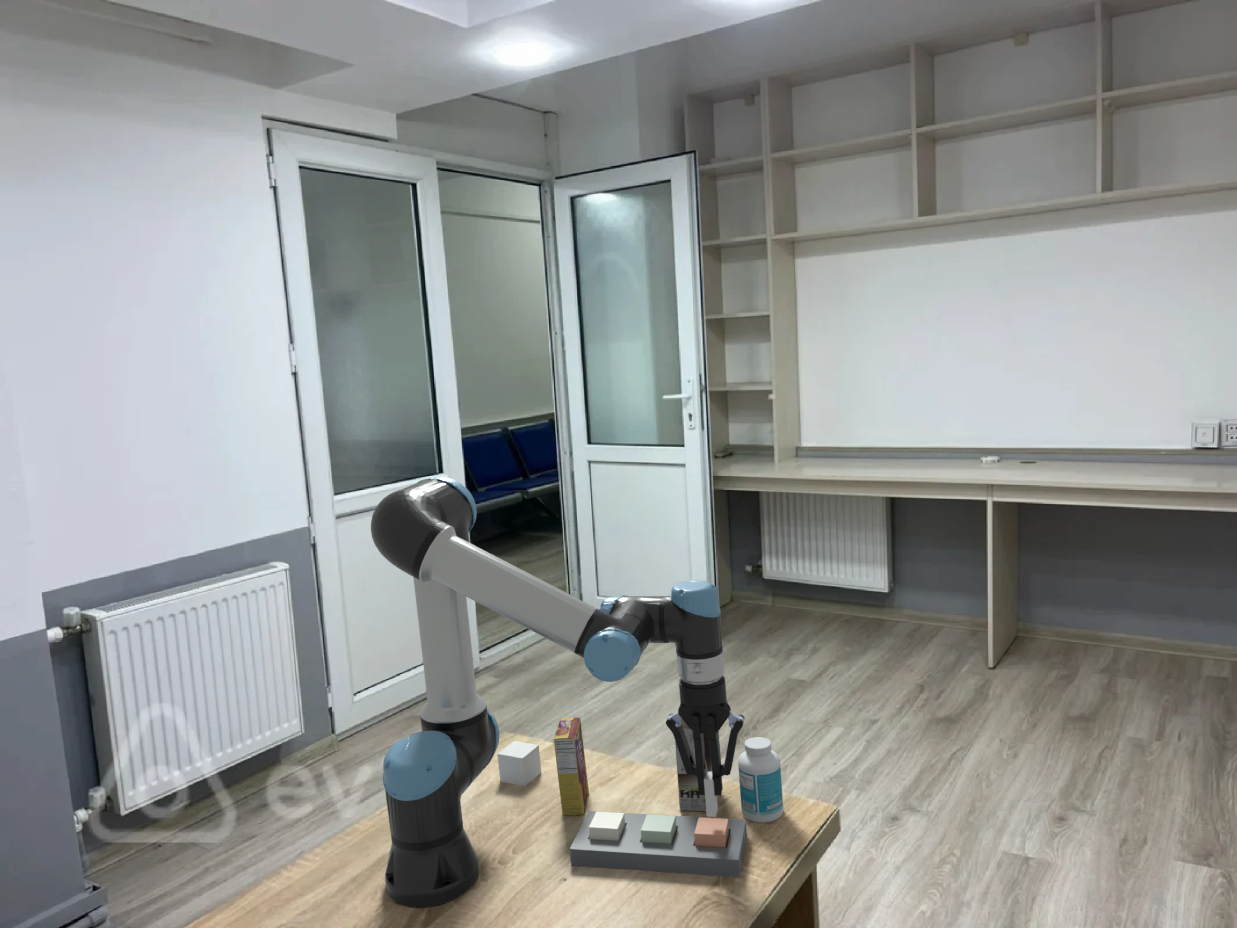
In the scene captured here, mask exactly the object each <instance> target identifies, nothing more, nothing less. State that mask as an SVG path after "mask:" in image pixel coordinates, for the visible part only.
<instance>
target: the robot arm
mask: <svg viewBox="0 0 1237 928" xmlns="http://www.w3.org/2000/svg"><path fill="white" fill-rule="evenodd" d="M477 510H478V509H477V504H476V502H475V499H474V497H473V494H472V493H471V492H470V491H469V489H468V488H467V487H465V486H464V485H463V484H462V483H461V482H460V481H458V480H455V479H454V478H451V477H447V476H435V477H430V478H424V479H421V480H419V481H417V482H415V483H414V484H410V485H409V486H407V487H404V488H401V489H398V490H396V491H392V492H391V493H389V494H388V495H386V496H385V497H383V498H382V499H381V500H380V501H379V503H378V504H377V506H376V507H375V509H374V511H373V513H372V516H371V520H370V533H371V538H372V541H373V543H374V546H375V547H376V549H377V550H378V552H379V553H380V555H382V557H383V558H385V560H386V561H387V562H389V563H390V564H392V565H393V566H394V567H396V568H398V569H399V570H401V571H402V572H404V573H405V574H407V575H409V576H411V577H413V587H414V588H413V589H414V595H415V605H416V612H417V620H418V621H417V622H418V629H419V630H418V631H419V638H420V639H419V640H420V646H421V656H422V657H421V658H422V664H423V665H422V666H423V671H424V672H423V674H424V681H425V682H424V683H425V690H426V702H425V704H423V706H422V707H421V709H420V711H419V717H420V718H419V719H420V726H421V731H418V732H415V733H411V734H410V735H409V737H406V736H405V737H403V738H400V739H399V740H397V741H396V742H394V743H393V745H391V747H390V748H389V749H388V750H387V752H386V753H385V755H384V758H383V762H382V763H383V765H382V769H383V771H382V782H383V787H384V792H385V800H386V808H387V815H388V823H389V830H390V831H389V832H390V839H391V846H390V850H389V855H388V860H387V865H386V869H385V874H384V883H385V887H386V888H385V891H386V894H387V895H388V897H389V898H390V900H392V901H394V902H395V903H397V904H399V905H401V906H406V907H411V908H427V907H432V906H438V905H441V904H445V903H448V902H450V901H452V900H454V899H456V898H458V897H460V896H462V895H463V894H465V893H467V892H468V890H470V889H471V888H472V886H473V885H475V883H476V881H477V879H478V877H479V874H480V870H479V869H480V867H479V860H478V859H479V858H478V855H477V853H476V851H475V849H474V847H473V845H472V843H471V841H470V839H469V836H468V834H467V833H466V830H465V829H464V822H463V812H462V803H461V798H462V795H464V793H465V792H466V791H467V789H468V788H469V787H470V786H471V785H472V783H473V782H475V780H476V779H477V778H478V777H479V775H481V773H482V772H483V771H484V770H485V769H486V767H487V766H489V764H490V763H491V761H492V759H493V757H494V756H495V754H496V752H497V749H498V748H499V747H498V746H499V743H500V728H499V725H498V721H497V719H496V718H495V716H494V714H491V713H490V711H489V708H488V707H487V701H486V699H485V698H483V697H482V696H481V695H479V694H478V692H477V684H476V677H475V676H476V675H475V666H474V657H473V656H474V655H473V649H472V648H473V647H472V637H471V630H470V619H469V618H470V617H469V610H468V609H469V607H468V601H467V598H468V599H470V600H472V601H474V602H476V603H478V604H479V605H481V606H483V607H485V608H487V609H490V610H491V611H493V612H496V613H497V614H499V615H501V616H502V617H504V618H506V619H508V620H510V621H512V622H514V623H517V625H520V626H522V627H524V628H526V629H528V630H529V631H531V632H534V633H535V634H537V635H539V636H541V637H543V638H545V639H547V640H548V641H551V642H553V643H554V644H556V645H558V646H560V647H563V648H564V649H567V650H568V651H570V652H572V653H574V654H575V655H577V656H579V657H581V658H582V659H583V662H584V665H585V667H586V669H587V670H588V672H589V673H590V674H591V675H592V677H594V678H596V679H598V680H599V681H602V682H607V683H612V682H613V683H614V682H618V681H621V680H623V679H625V677H627V676H628V675H629V674H630V673H631V672H632V670H634V668H635V667H636V666H637V665H638V664H639V662H640V660H641V657H642V655H643V653H644V652H645V650H646V649H647V647H648V646H649V645H650V644H671V643H673V644H675V650H676V651H675V653H676V663H677V666H676V667H677V675H678V677H679V679H678V689H679V700H680V702H679V703H680V705H679V706H678V710H677V711H676V712H674V713H670V714H669V715H668V716H667V718H666V721H665V725H666V726H667V728H668V729H669V730H670V731H671V733H672V736H673V738H674V741H676V744H677V747H678V750H679V753H680V756H681V759H682V762H683V765H684V768H685V771H686V773H687V774H693V775H695V776H696V777H697V779H698V791H699V794H700V795H705V801H706V811H705V812H706V817H707V818H717V813H718V810H719V807H718V797H721V796H722V792H723V788H724V787H723V776H727V777H728V776H729V775H730V774H731V772H732V768H733V763H734V757H735V751H736V747H737V741H738V736H739V733H740V731H741V730H742V728H744V727H743V726H744V723H745V716H744V715H743V714H737V713H734V712H733V711H732V709H731V706H730V704H729V703H728V699H727V687H726V686H727V685H726V677H725V676H724V675H725V674H726V673H725V670H726V669H725V662H724V661H725V658H724V648H723V636H722V633H723V632H722V617H721V611H722V609H721V607H720V601H719V593H718V589H717V586H716V585H715V584H714V583H712V582H710V581H707V580H702V579H699V580H698V579H693V580H688V581H686V580H685V581H681V582H677V583H676V584H675V585H674V584H673V586H672V588H671V593H670V595H666V596H665V595H659V596H658V595H656V596H655V595H654V596H653V595H652V596H651V595H649V596H647V595H645V596H644V595H643V596H641V595H639V596H636V595H634V596H633V595H632V596H630V595H620V596H610V597H609V596H608V597H606V598H604V599H603V600H602V601H601V603H600V608H597V607H595V606H593V605H592V604H589V603H587V602H585V601H583V600H582V599H579V598H577V597H575V596H573V595H572V594H570V593H568V592H566V591H564V590H562V589H560V588H558V587H556V586H554V585H552V584H551V583H548V582H546V581H544V580H542V579H540V578H538V577H537V576H534V575H533V574H531V573H529V572H527V571H525V570H523V569H521V568H519V567H518V566H516V565H514V564H512V563H509V562H507V561H506V560H504V559H502V558H501V557H498V556H496V555H494V554H492V553H489V552H488V551H487V550H484V549H482V548H480V547H478V546H476V545H475V544H473V543H471V542H470V532H471V531H472V529H473V527H474V525H475V523H476V520H477V513H478V511H477ZM681 718H682V719H683V720H684V722H685V723H686V724H687V725H688V726H689V728H690V729H691V730H692V731H693V739H694V748H695V761H696V764H695V762H694V759H693V756H692V753H691V750H690V747H689V744H688V741H687V738H686V735H685V732H684V729H683V727H682V725H681V724H682V719H681ZM727 720H728V727H729V728H730V732H729V737H728V741H727V749H726V753H725V760H724V764H722V758H721V757H722V756H721V745H720V729H721V728H722V727H723V725H724V724H725V723H726V721H727ZM704 732H706V733H708V735H709V740H710V752H711V765H712V772H708V771H706V767H707V766H706V762H705V749H704V736H703V733H704Z"/></svg>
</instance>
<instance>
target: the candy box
mask: <svg viewBox="0 0 1237 928" xmlns="http://www.w3.org/2000/svg"><path fill="white" fill-rule="evenodd" d="M582 730H583V729H582V723H581V717H564V718H560V719H559V722H558V726H557V728H556V732H555V734H554V738H553V743H554V745H553V746H554V753H555V762H556V770H557V779H558V780H557V781H558V789H559V797H560V804H561V813H562V816H582V815H583V816H584V812H585V808H586V805H587V799H588V796H589V795H588V794H589V791H590V789H589V782H588V775H587V774H588V773H587V764H586V763H587V762H586V757H585V747H584V739H583V731H582Z"/></svg>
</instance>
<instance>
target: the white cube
mask: <svg viewBox="0 0 1237 928" xmlns="http://www.w3.org/2000/svg"><path fill="white" fill-rule="evenodd" d="M540 754H541V753H540V745H539V744H535V743H528V742H524V741H517V740H513V741H512V742H511V743H509V744H508V745H507V746H506V747H504V748H503V749H501V750H500V751H499V752H498V753H497V762H498V773H499V782H501V783H505V784H511V785H516V786H522V787H526V786H527V785H529V784H530V783H532V781H533V780H534V779H536V778H537V777H538V776H539V775H540V774H542V766H541V765H542V764H541V755H540Z"/></svg>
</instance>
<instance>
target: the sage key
mask: <svg viewBox="0 0 1237 928" xmlns="http://www.w3.org/2000/svg"><path fill="white" fill-rule="evenodd" d="M646 814H647V815H646V818H645V821H644V823H643V826H642V828H641V840H642V843H658V844H673V841H674V838H675V835H676V832H677V829H676V816H677V815H671V816H666V815H667V814H653V815H649V813H646Z"/></svg>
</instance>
